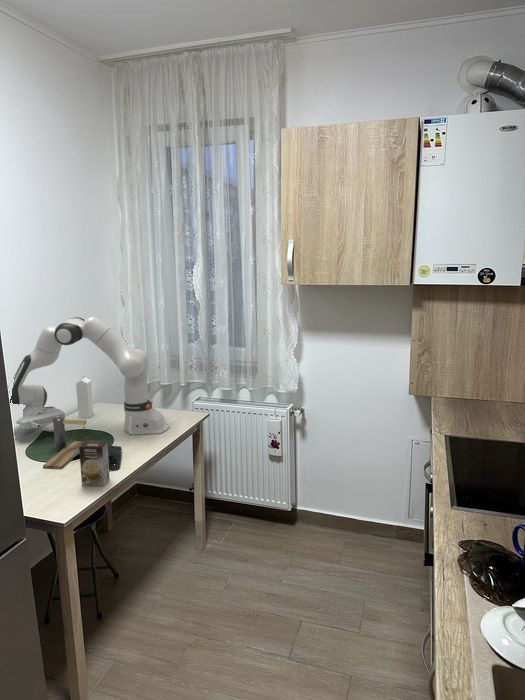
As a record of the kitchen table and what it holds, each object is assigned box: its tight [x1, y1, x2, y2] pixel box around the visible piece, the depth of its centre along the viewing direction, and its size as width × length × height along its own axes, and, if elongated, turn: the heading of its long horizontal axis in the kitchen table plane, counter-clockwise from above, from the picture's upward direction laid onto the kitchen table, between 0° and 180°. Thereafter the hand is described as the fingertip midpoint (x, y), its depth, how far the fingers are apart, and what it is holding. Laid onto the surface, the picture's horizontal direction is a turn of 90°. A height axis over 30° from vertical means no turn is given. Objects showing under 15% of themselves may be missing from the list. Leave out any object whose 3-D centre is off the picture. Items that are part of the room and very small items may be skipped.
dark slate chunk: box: [108, 444, 122, 472], centre depth 209 cm, size 15×22×5 cm
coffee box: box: [79, 439, 110, 487], centre depth 189 cm, size 9×6×16 cm
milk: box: [75, 374, 94, 419], centre depth 263 cm, size 6×6×22 cm
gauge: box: [52, 417, 87, 450], centre depth 221 cm, size 15×5×14 cm, turn 84°
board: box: [42, 440, 85, 470], centre depth 215 cm, size 8×26×1 cm, turn 174°
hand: (48, 423), depth 229 cm, fingers open, 8 cm apart
